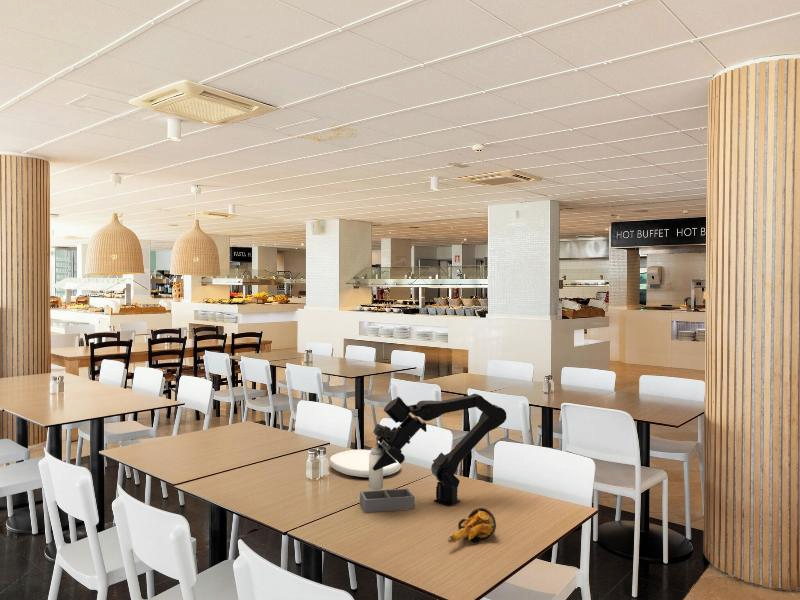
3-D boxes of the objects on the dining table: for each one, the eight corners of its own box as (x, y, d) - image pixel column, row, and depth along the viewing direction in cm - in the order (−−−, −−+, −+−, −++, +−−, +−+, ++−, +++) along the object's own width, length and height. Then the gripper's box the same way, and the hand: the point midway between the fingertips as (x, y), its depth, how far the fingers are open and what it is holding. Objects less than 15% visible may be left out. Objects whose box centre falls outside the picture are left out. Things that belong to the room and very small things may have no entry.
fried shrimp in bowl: (508, 520, 176) (484, 519, 162) (489, 553, 176) (463, 555, 161) (483, 501, 181) (458, 498, 167) (465, 534, 181) (438, 533, 167)
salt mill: (384, 485, 200) (384, 444, 200) (380, 490, 195) (381, 448, 195) (370, 484, 201) (371, 444, 201) (367, 489, 196) (367, 447, 196)
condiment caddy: (407, 500, 205) (407, 488, 205) (414, 509, 197) (414, 496, 197) (359, 503, 201) (360, 491, 201) (364, 512, 193) (364, 500, 193)
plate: (413, 455, 244) (380, 473, 221) (411, 471, 245) (378, 490, 221) (354, 439, 257) (317, 454, 234) (352, 454, 258) (315, 470, 234)
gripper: (382, 410, 208) (350, 443, 205) (395, 421, 190) (360, 458, 187) (404, 431, 210) (372, 465, 207) (419, 445, 192) (384, 482, 189)
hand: (371, 467), depth 198 cm, fingers closed on salt mill, 5 cm apart
